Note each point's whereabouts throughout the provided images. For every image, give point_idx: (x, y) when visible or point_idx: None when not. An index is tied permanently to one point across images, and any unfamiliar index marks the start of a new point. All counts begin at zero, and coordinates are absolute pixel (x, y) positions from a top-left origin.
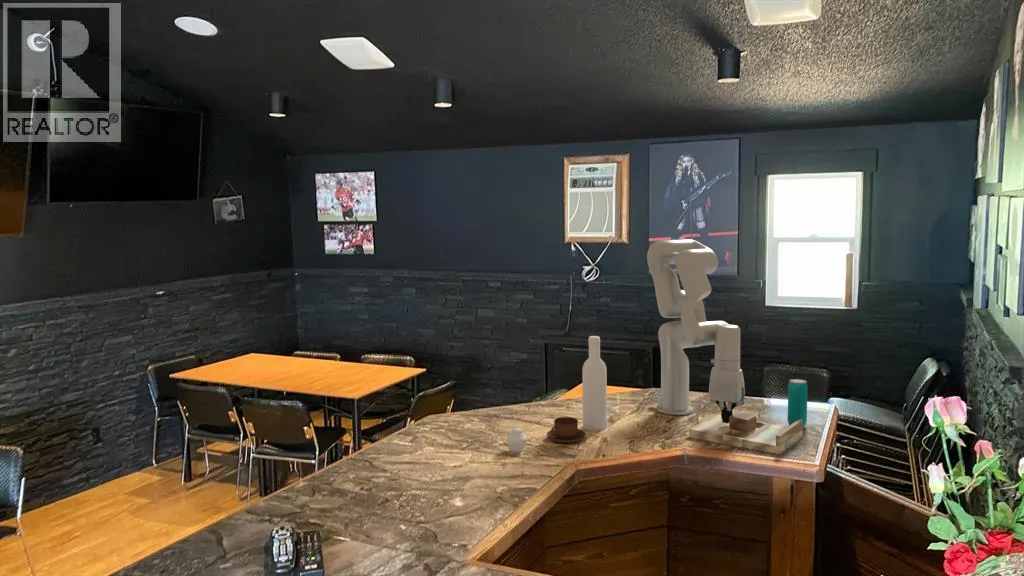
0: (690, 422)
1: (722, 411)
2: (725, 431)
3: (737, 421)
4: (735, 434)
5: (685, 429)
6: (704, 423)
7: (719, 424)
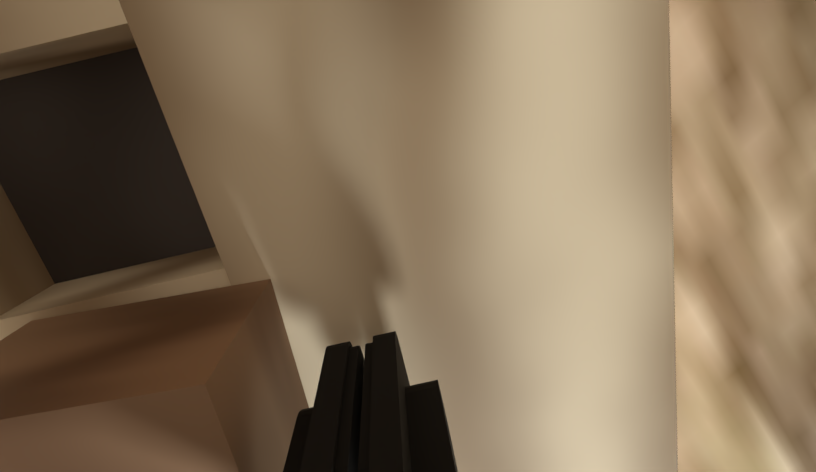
0: (806, 338)
1: (400, 450)
2: (224, 161)
3: (83, 369)
4: (192, 261)
5: (759, 124)
6: (616, 242)
7: (462, 336)
